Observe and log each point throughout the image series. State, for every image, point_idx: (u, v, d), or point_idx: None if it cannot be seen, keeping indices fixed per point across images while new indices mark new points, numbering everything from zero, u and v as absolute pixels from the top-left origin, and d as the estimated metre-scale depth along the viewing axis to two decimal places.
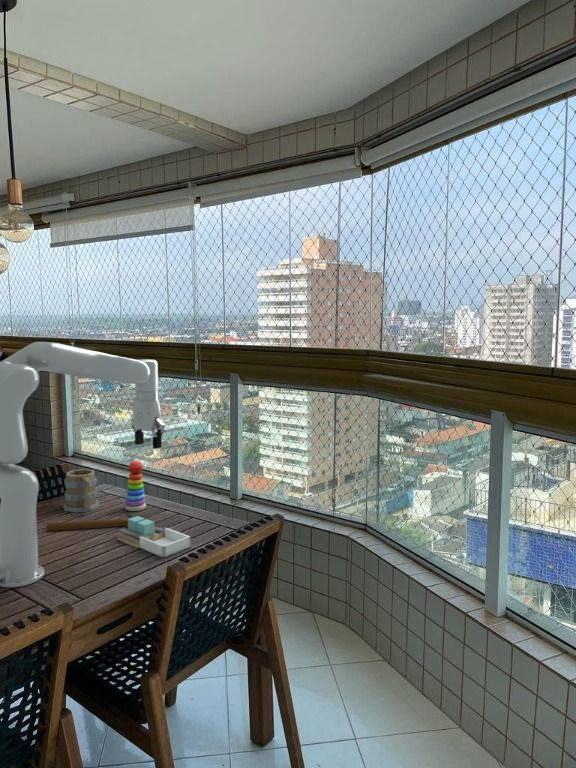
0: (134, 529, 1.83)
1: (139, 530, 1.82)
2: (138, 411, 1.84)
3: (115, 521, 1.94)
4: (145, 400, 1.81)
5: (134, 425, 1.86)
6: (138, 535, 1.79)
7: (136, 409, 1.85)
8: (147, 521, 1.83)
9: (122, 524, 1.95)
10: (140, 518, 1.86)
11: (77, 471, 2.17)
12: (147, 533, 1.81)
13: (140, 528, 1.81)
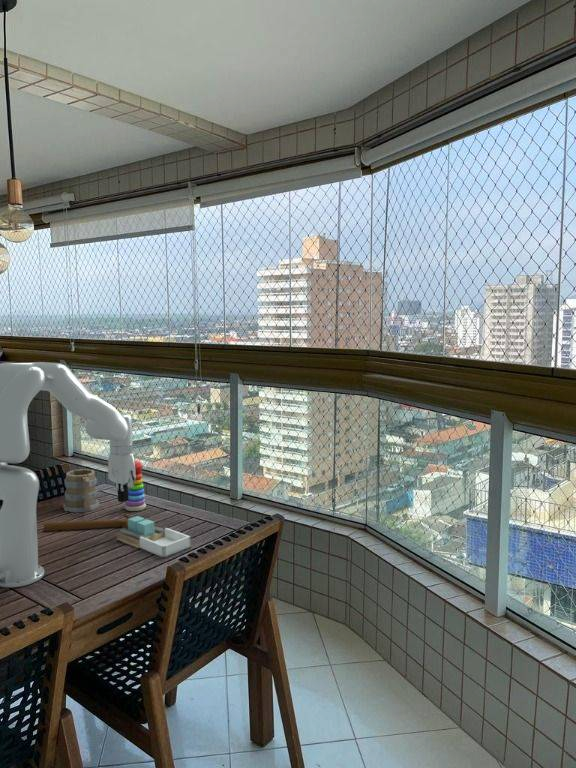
0: (134, 529, 1.83)
1: (139, 530, 1.82)
2: (113, 464, 1.87)
3: (112, 522, 1.94)
4: (119, 454, 1.85)
5: (109, 477, 1.90)
6: (138, 535, 1.79)
7: (111, 462, 1.88)
8: (147, 521, 1.83)
9: (119, 525, 1.94)
10: (140, 518, 1.86)
11: (77, 471, 2.17)
12: (147, 533, 1.81)
13: (140, 528, 1.81)
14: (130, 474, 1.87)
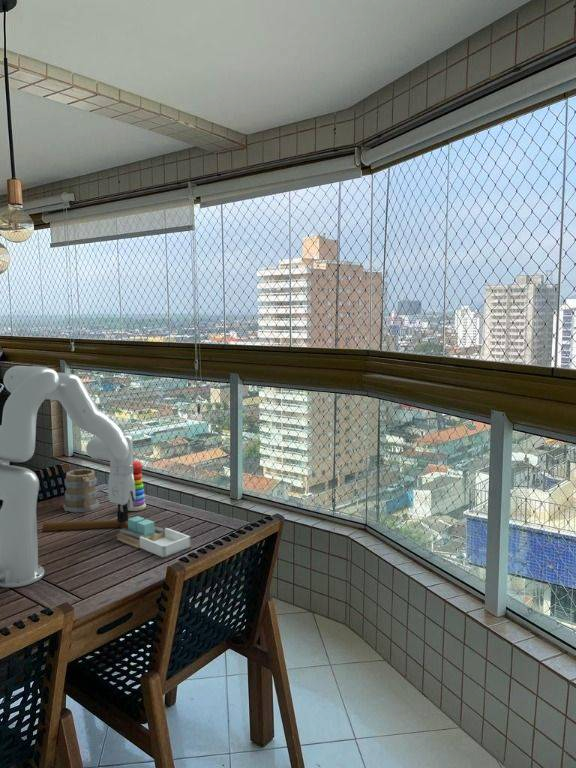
0: (134, 529, 1.83)
1: (139, 530, 1.82)
2: (113, 485, 1.88)
3: (111, 522, 1.93)
4: (119, 475, 1.85)
5: (109, 497, 1.90)
6: (138, 535, 1.79)
7: (111, 483, 1.88)
8: (147, 521, 1.83)
9: (118, 525, 1.94)
10: (140, 518, 1.86)
11: (77, 471, 2.17)
12: (147, 533, 1.81)
13: (140, 528, 1.81)
14: (130, 495, 1.87)
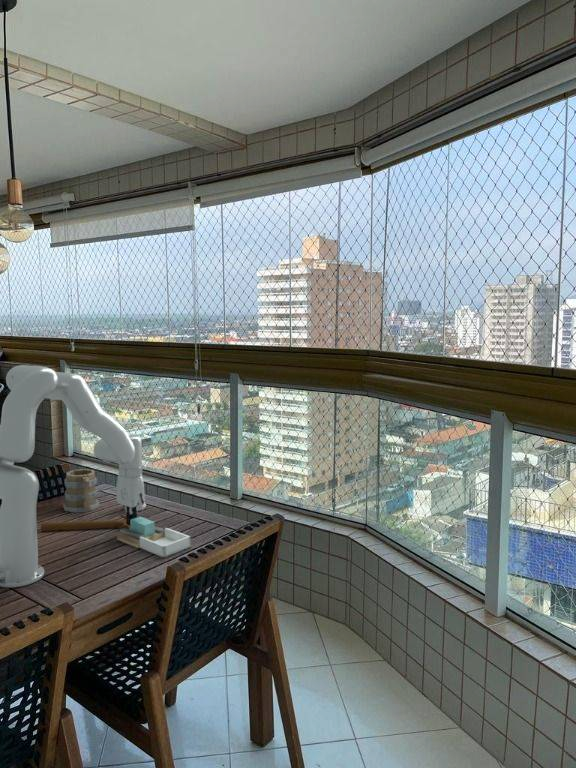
0: None
1: (139, 530, 1.81)
2: (122, 487, 1.85)
3: (109, 522, 1.93)
4: (129, 477, 1.82)
5: (118, 500, 1.87)
6: (138, 535, 1.79)
7: (120, 485, 1.85)
8: (147, 521, 1.83)
9: (116, 525, 1.93)
10: (143, 518, 1.85)
11: (77, 471, 2.17)
12: (147, 533, 1.81)
13: (140, 528, 1.81)
14: (139, 497, 1.84)
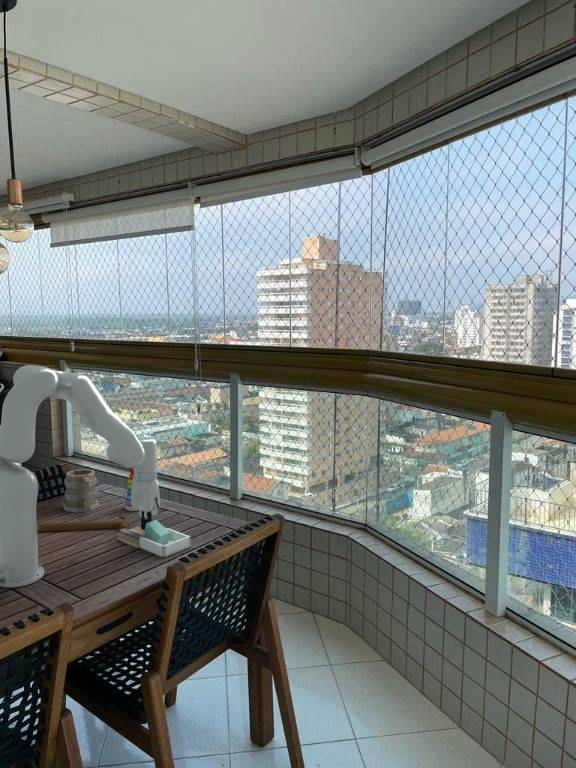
0: None
1: (153, 537, 1.77)
2: (136, 491, 1.80)
3: (107, 523, 1.92)
4: (144, 481, 1.77)
5: (132, 504, 1.82)
6: (138, 535, 1.79)
7: (134, 489, 1.81)
8: (163, 530, 1.78)
9: (114, 526, 1.93)
10: (158, 524, 1.81)
11: (77, 471, 2.17)
12: (161, 543, 1.77)
13: (155, 536, 1.77)
14: (154, 501, 1.79)
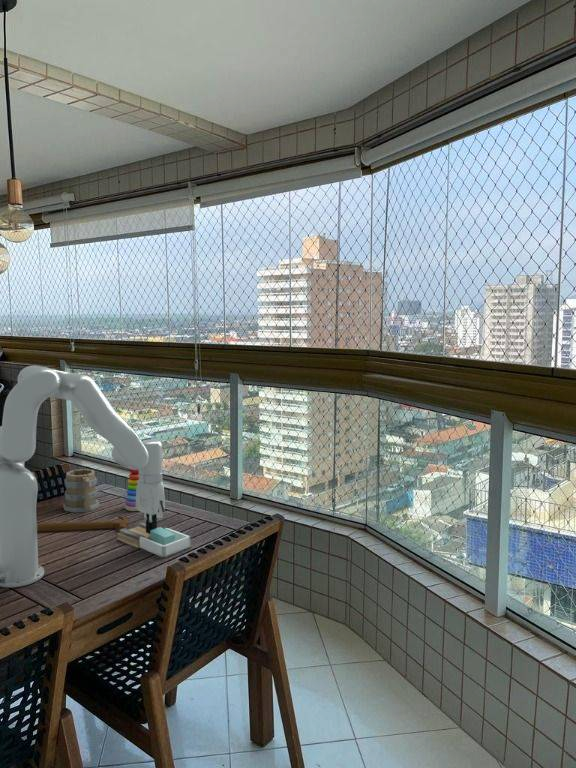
0: None
1: (159, 542, 1.75)
2: (141, 494, 1.78)
3: (106, 523, 1.92)
4: (149, 483, 1.75)
5: (137, 507, 1.80)
6: (138, 535, 1.79)
7: (139, 491, 1.79)
8: (168, 533, 1.77)
9: (113, 526, 1.92)
10: (163, 530, 1.79)
11: (77, 471, 2.17)
12: None
13: (160, 540, 1.75)
14: (160, 504, 1.77)
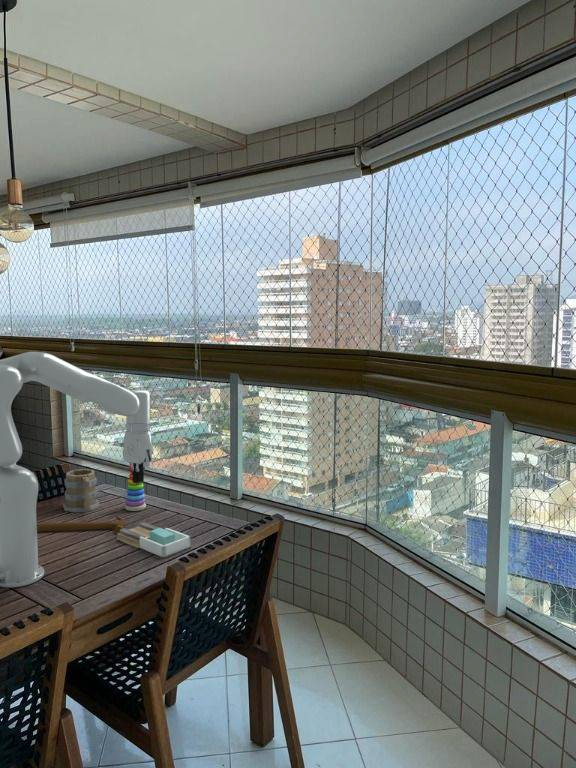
0: None
1: (159, 542, 1.75)
2: (129, 443, 1.79)
3: (103, 524, 1.92)
4: (136, 432, 1.76)
5: (124, 457, 1.81)
6: (138, 535, 1.79)
7: (127, 441, 1.79)
8: (167, 533, 1.77)
9: (110, 527, 1.92)
10: (162, 530, 1.79)
11: (77, 471, 2.17)
12: None
13: (160, 540, 1.75)
14: (146, 453, 1.78)
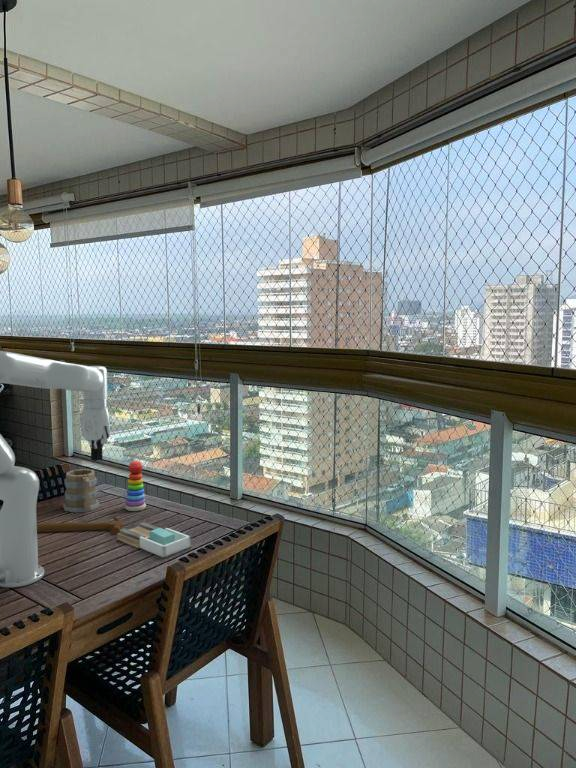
0: None
1: (159, 542, 1.75)
2: (86, 420, 1.77)
3: (100, 524, 1.91)
4: (93, 408, 1.74)
5: (82, 434, 1.79)
6: (138, 535, 1.79)
7: (84, 418, 1.78)
8: (167, 533, 1.77)
9: (107, 527, 1.91)
10: (162, 530, 1.79)
11: (77, 471, 2.17)
12: None
13: (160, 540, 1.75)
14: (104, 430, 1.76)
